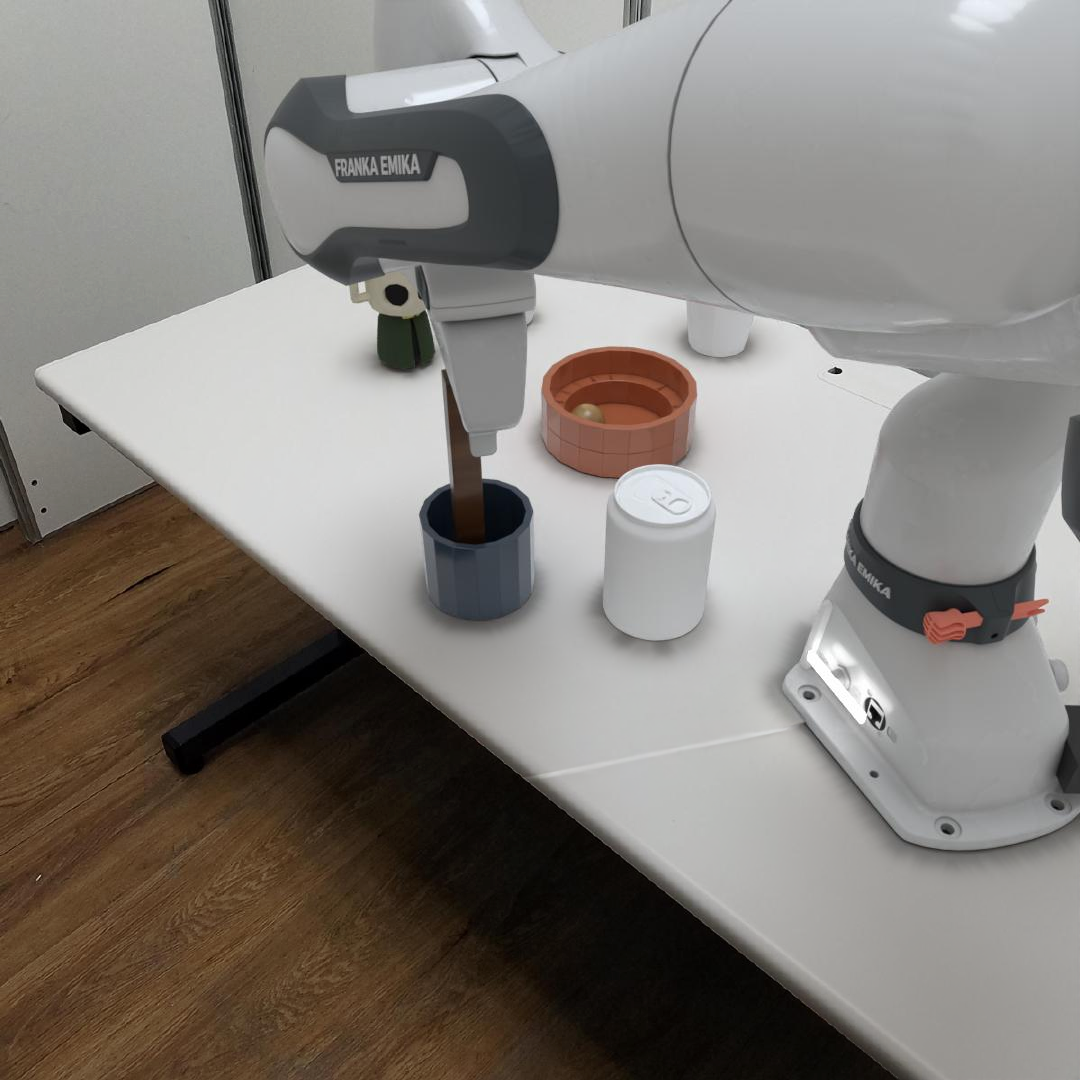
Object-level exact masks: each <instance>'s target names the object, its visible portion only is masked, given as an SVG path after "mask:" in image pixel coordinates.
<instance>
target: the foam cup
mask: <svg viewBox="0 0 1080 1080" xmlns="http://www.w3.org/2000/svg"><path fill="white" fill-rule="evenodd" d="M685 301H686V300H685ZM685 305H686V321H687V323H686V325H687V336H688V343H689V346H690V348H691V349H692V350H694V351H695V352H697V353H698V354H701V355H704V356H708V357H711V358H728V357H732V356H737V355H738V354H740V353H742V352H743V351H745V348H746V345H747V341H748V339H749V335H750V332H751V328H752V324H753V321H754V318H755V315H752V314H747V313H742V312H738V311H733V310H729V309H724V308H720V307H715V306H711V305H706V304H701V303H696V302H691V301H686V302H685Z"/></svg>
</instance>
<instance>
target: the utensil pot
mask: <svg viewBox="0 0 1080 1080" xmlns="http://www.w3.org/2000/svg"><path fill="white" fill-rule="evenodd" d="M482 485H483V504H484V522H485V540H486V543H483V544H477V545H474V544H464V543H455V540H454V527H453V514H452V502H451V489H450V483H448V484H445V485H443V486H440V487H438V488H437V489H435V490H434V491H433V492H432V493H431V494H429V496H427V497H426V498H425V499H424V500H423V503H422V505H421V508H420V510H419V513H418V519H419V529H420V540H421V549H422V557H423V566H424V567H423V568H424V578H425V586H426V589H427V594H428V598H429V599H430V600H431V602H432V603H433V604H434V606H435V607H437V608H438V609H439V610H440V611H441V612H443V613H444V614H446V615H449V616H451V617H454V618H457V619H460V620H466V621H479V622H480V621H481V622H483V621H490V620H494V619H499V618H503V617H506V616H507V615H510V614H512V613H513V612H515V611H517V610H519V609H520V608H521V607H522V606H524V604H525V603H526V602H527V601H528V600H529V598H530V597H531V596H532V593H533V590H534V585H535V578H536V577H535V520H534V519H535V517H534V513H535V512H534V508H533V506H532V503H531V499H530V498H529V497H528V496H527V494H525V493H524V492H523V491H522V490H520V489H519V488H518V487H517V486H515V485H513V484H510V483H507V482H505V481H502V480H500V479H493V478H484V477H482Z"/></svg>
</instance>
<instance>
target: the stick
mask: <svg viewBox="0 0 1080 1080" xmlns="http://www.w3.org/2000/svg"><path fill="white" fill-rule="evenodd" d="M440 375H441V376H440V377H441V385H442V398H443V399H442V401H443V412H444V422H445V423H444V424H445V437H446V451H447V462H448V477H449V484H450V489H451V502H452V514H453V527H454V540H455V543H464V544H474V545H477V544H483V543H486V540H485V522H484V504H483V485H482V478H483V470H482V469H483V468H482V467H483V466H482V457H475V456H473V455H472V454H471V450H470V447H469V444H468V435H467V431H466V430H465V428H464V426H463V423H462V419H461V415H460V412H459V409H458V406H457V402H456V399H455V396H454V393H453V390H452V387H451V384H450V380H449V377H448V374H447V371H446V369H445V368H443V369H441V370H440Z"/></svg>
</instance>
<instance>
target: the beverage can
mask: <svg viewBox="0 0 1080 1080" xmlns="http://www.w3.org/2000/svg"><path fill="white" fill-rule="evenodd" d="M716 516H717V508H716V504H715V501H714V499H713V497H712V492H711V489H710V486H709V485H708V483H707V482H706V481H705V480H704V479H703V478H702V477H701V476H699V475H698V474H696V473H695V472H693V471H691V470H689V469H686V468H685V467H684V468H683V467H681V466H677V465H660V464H658V465H647V466H642V467H638V468H635V469H633V470H631V471H629V472H627V473H625V474H624V475H623V476H622V477H621V478H619V479H618V480H617V481H616V483H615V485H614V488H613V489H612V491H611V492H610V494H609V496H608V499H607V502H606V513H605V536H604V537H605V540H604V560H603V561H604V562H603V588H602V607H603V608H602V609H603V612H604V614H605V616H606V618H607V620H609V622H610V623H611V624H612V625H613V626H614V627H615V628H616V629H618V630H619V631H620V632H623V633H624V634H626V635H628V636H631V637H634V638H637V639H641V640H645V641H668V640H674V639H676V638H679V637H682V636H684V635H686V634H688V633H689V632H691V631H692V630H694V628H696V627H697V625H698V624H699V623H700V621H702V618H703V616H704V615H703V614H704V612H705V611H704V610H705V605H706V604H705V603H706V596H707V587H708V580H709V573H710V572H709V571H710V565H711V557H712V548H713V540H714V533H715V525H716Z"/></svg>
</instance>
